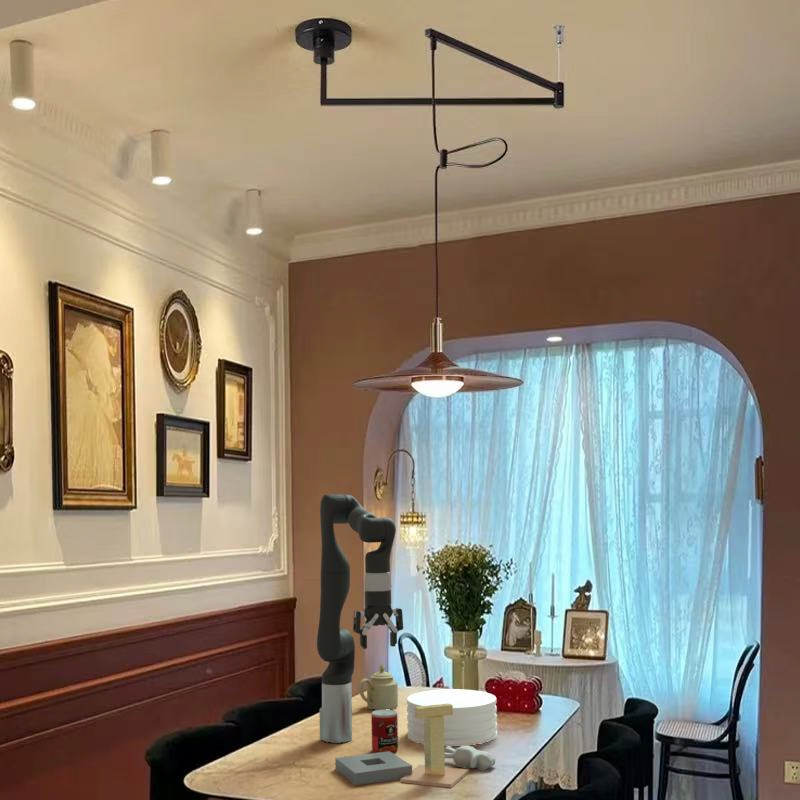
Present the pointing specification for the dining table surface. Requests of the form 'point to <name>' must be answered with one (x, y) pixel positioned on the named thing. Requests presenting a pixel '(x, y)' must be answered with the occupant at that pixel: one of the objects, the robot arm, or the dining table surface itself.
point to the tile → (443, 781)
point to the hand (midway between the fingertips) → (378, 647)
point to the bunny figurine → (470, 757)
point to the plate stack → (456, 716)
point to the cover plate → (372, 767)
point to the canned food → (384, 731)
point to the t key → (434, 736)
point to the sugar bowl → (380, 691)
